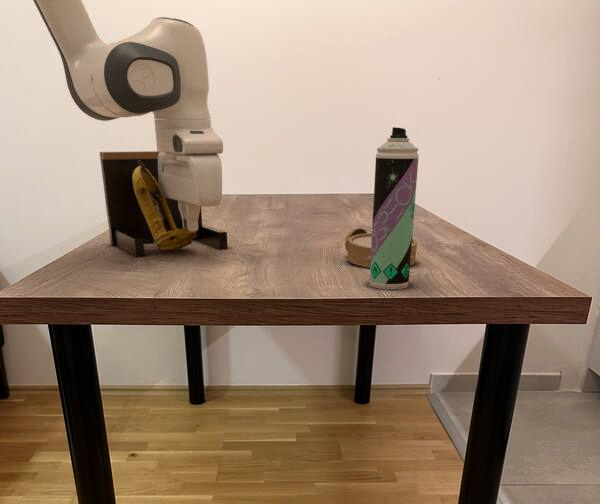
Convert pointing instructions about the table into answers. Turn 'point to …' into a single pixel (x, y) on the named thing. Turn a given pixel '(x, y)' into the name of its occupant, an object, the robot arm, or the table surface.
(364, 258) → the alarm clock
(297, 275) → the table surface
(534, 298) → the table surface
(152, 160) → the black display stand
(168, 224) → the shrine
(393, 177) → the spray can
